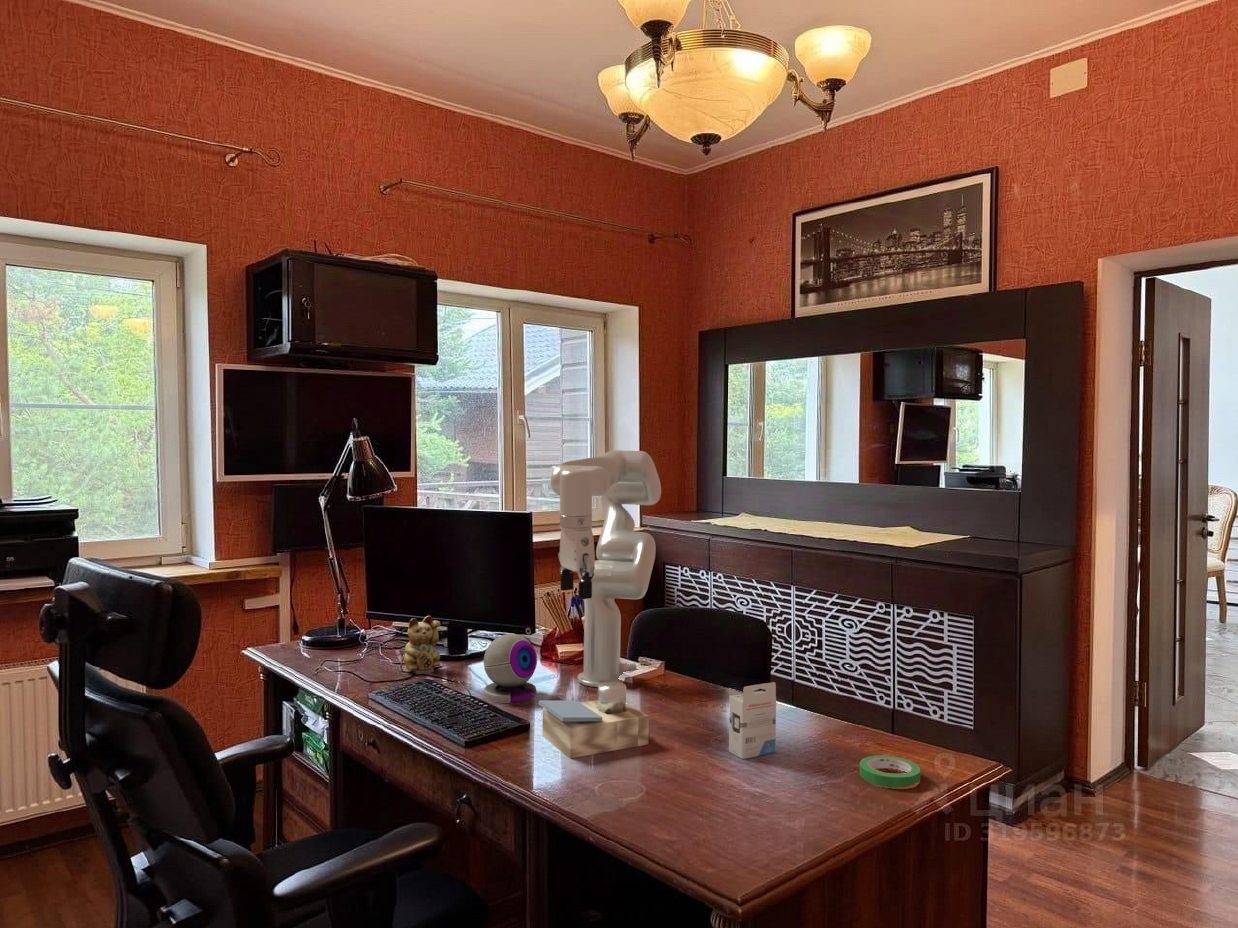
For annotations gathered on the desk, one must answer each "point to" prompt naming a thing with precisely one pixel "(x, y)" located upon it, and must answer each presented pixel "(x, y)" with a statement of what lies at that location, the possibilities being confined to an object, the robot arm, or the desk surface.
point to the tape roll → (889, 779)
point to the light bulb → (611, 697)
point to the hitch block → (597, 731)
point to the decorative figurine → (422, 646)
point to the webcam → (510, 669)
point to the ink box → (753, 721)
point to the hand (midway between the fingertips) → (575, 594)
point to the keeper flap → (569, 710)
